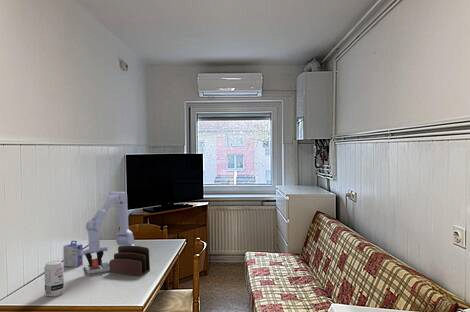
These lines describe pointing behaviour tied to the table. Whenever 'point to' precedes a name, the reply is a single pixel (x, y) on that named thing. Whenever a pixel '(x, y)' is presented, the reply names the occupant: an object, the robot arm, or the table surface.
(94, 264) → the cap
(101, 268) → the breaker panel
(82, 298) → the table surface
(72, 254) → the ink cartridge box
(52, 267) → the supplement can
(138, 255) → the letter holder
